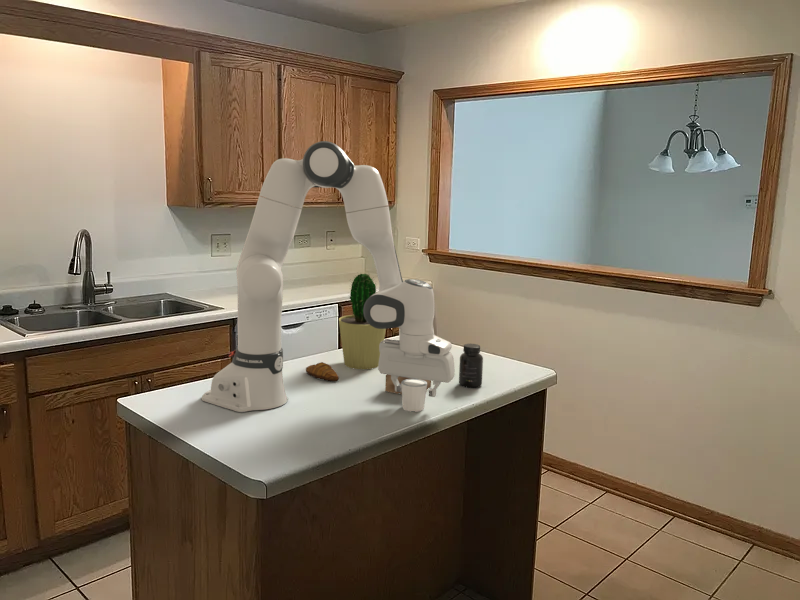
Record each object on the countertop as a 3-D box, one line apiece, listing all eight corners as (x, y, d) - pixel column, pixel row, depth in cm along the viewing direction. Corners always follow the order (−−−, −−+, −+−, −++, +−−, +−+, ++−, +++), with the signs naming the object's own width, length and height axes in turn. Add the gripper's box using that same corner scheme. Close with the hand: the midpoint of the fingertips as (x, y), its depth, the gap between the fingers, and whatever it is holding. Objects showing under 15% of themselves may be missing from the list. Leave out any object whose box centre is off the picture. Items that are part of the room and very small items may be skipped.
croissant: (298, 375, 197) (298, 359, 196) (315, 371, 202) (315, 355, 201) (328, 385, 188) (328, 369, 187) (345, 381, 193) (345, 364, 192)
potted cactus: (372, 374, 199) (374, 277, 194) (328, 366, 206) (330, 272, 200) (394, 362, 213) (397, 271, 207) (353, 355, 219) (355, 267, 214)
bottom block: (385, 392, 184) (385, 375, 183) (399, 382, 193) (399, 366, 192) (418, 397, 180) (418, 380, 179) (430, 387, 189) (431, 371, 188)
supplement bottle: (459, 380, 196) (461, 341, 194) (482, 382, 195) (484, 343, 193) (457, 387, 190) (459, 347, 187) (480, 389, 188) (483, 349, 186)
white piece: (424, 413, 167) (425, 387, 166) (397, 410, 169) (398, 385, 167) (428, 404, 174) (429, 379, 173) (403, 402, 175) (403, 377, 174)
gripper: (374, 340, 169) (374, 391, 172) (450, 349, 162) (448, 402, 165) (384, 335, 175) (383, 384, 178) (457, 344, 168) (455, 395, 170)
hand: (415, 393), depth 171 cm, fingers open, 8 cm apart
